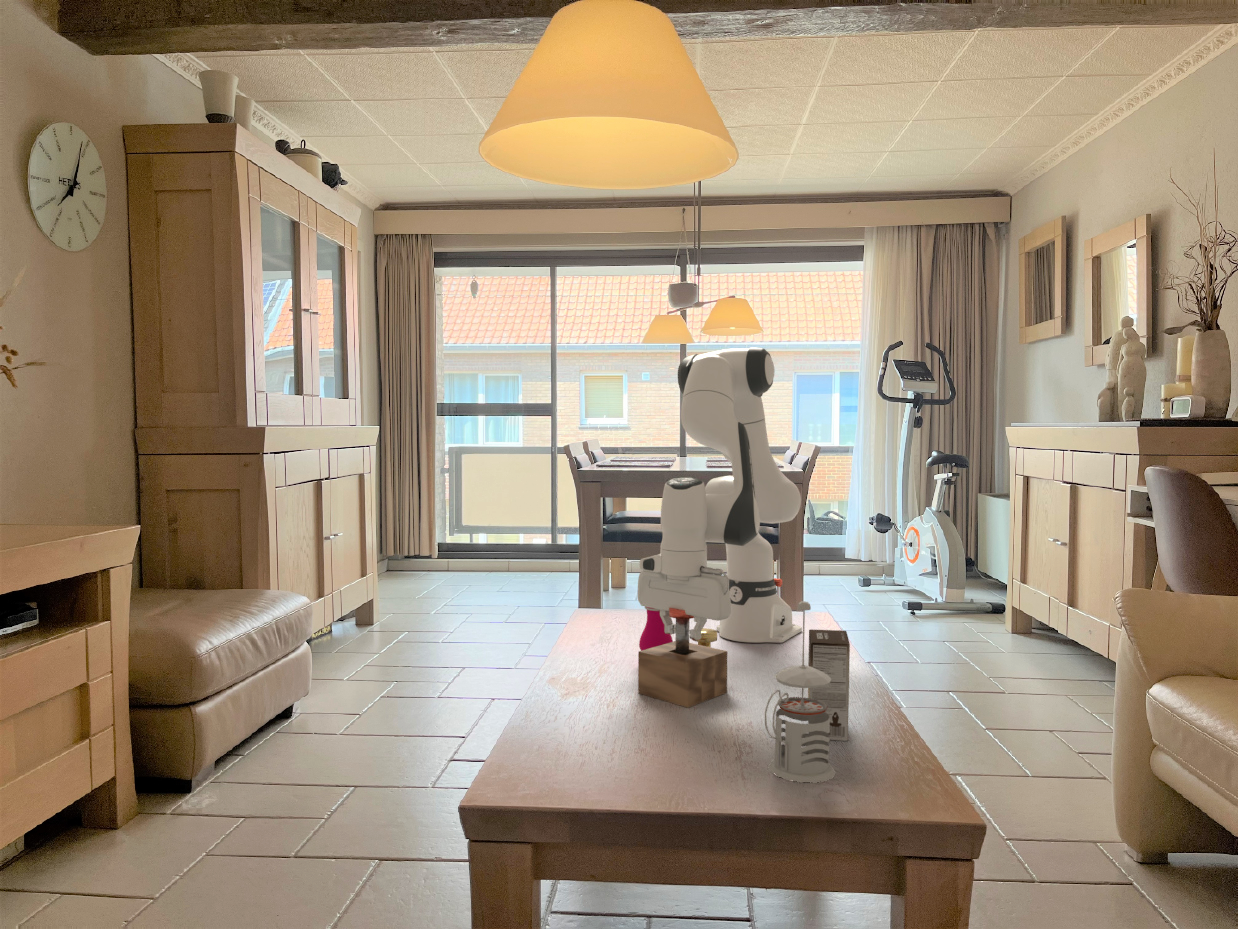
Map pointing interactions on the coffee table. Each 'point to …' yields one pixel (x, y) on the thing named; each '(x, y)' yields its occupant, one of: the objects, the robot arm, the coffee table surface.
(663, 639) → the pepper mill
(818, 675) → the french press
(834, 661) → the coffee box
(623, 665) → the coffee table surface
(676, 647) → the red round-headed grey cylinder
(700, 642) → the brass pin
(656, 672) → the hitch block
